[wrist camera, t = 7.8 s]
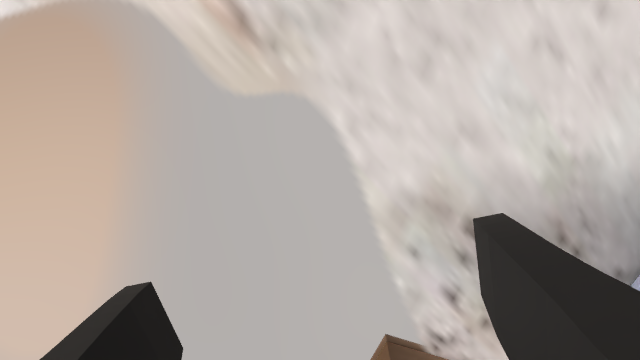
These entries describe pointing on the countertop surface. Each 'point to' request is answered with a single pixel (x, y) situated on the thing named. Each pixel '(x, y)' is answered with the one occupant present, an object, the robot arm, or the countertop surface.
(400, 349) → the walnut box
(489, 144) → the countertop surface
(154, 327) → the robot arm
